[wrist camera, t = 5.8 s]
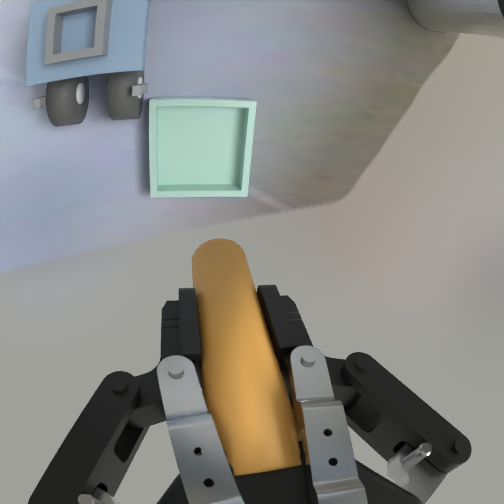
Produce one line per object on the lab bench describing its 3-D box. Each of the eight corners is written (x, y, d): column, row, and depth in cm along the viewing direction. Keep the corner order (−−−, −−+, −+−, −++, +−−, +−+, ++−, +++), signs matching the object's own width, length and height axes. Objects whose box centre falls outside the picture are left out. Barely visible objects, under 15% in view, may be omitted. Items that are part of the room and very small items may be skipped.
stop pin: (248, 238, 16) (322, 456, 7) (243, 282, 17) (299, 482, 8) (191, 239, 15) (215, 474, 6) (192, 284, 17) (215, 494, 8)
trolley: (164, -36, 23) (156, -73, 13) (152, 113, 33) (136, 132, 24) (70, -23, 20) (31, -47, 11) (62, 121, 31) (20, 145, 21)
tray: (251, 99, 35) (256, 101, 32) (243, 187, 41) (247, 196, 39) (152, 97, 32) (149, 99, 30) (153, 188, 39) (150, 197, 36)
